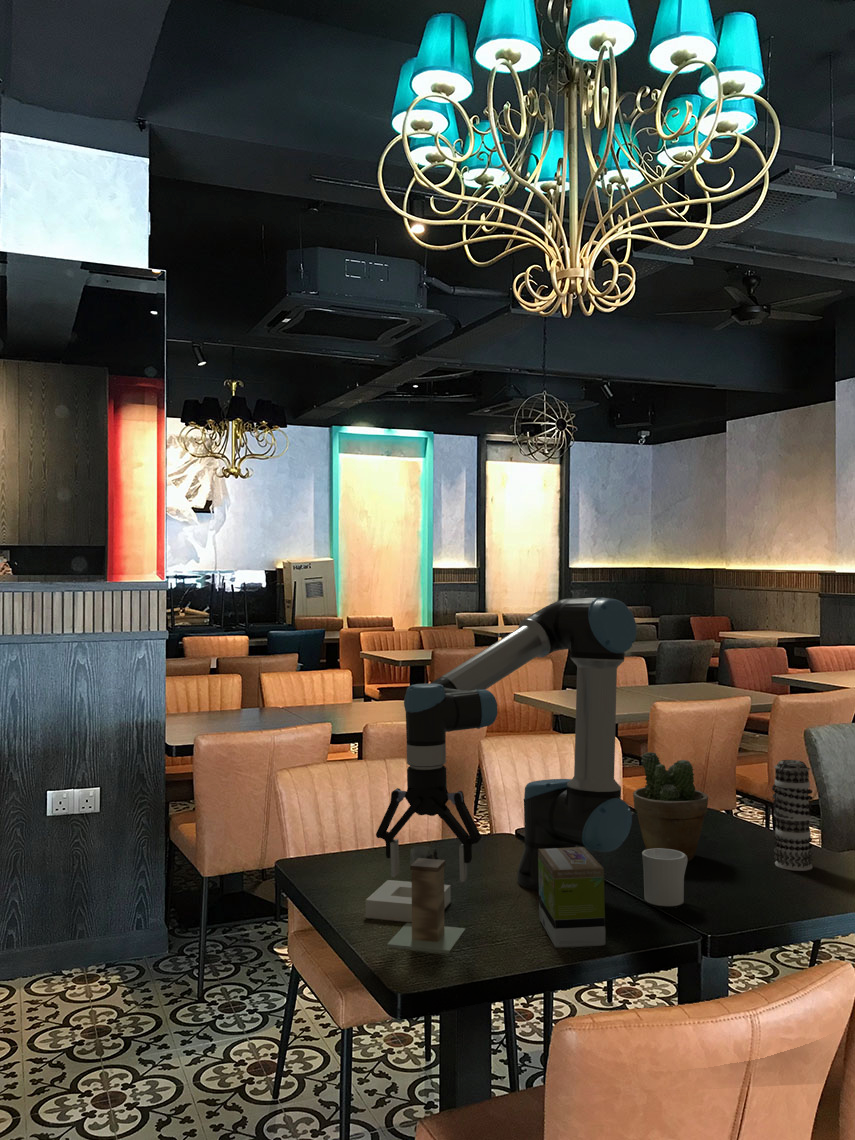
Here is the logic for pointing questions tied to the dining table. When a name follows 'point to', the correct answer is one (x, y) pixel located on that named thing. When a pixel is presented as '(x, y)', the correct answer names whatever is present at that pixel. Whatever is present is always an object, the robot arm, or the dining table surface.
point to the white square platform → (395, 901)
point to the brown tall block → (427, 899)
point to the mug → (664, 877)
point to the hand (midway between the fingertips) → (429, 877)
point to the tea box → (571, 897)
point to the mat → (442, 946)
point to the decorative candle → (792, 816)
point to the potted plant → (670, 806)
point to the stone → (423, 853)
